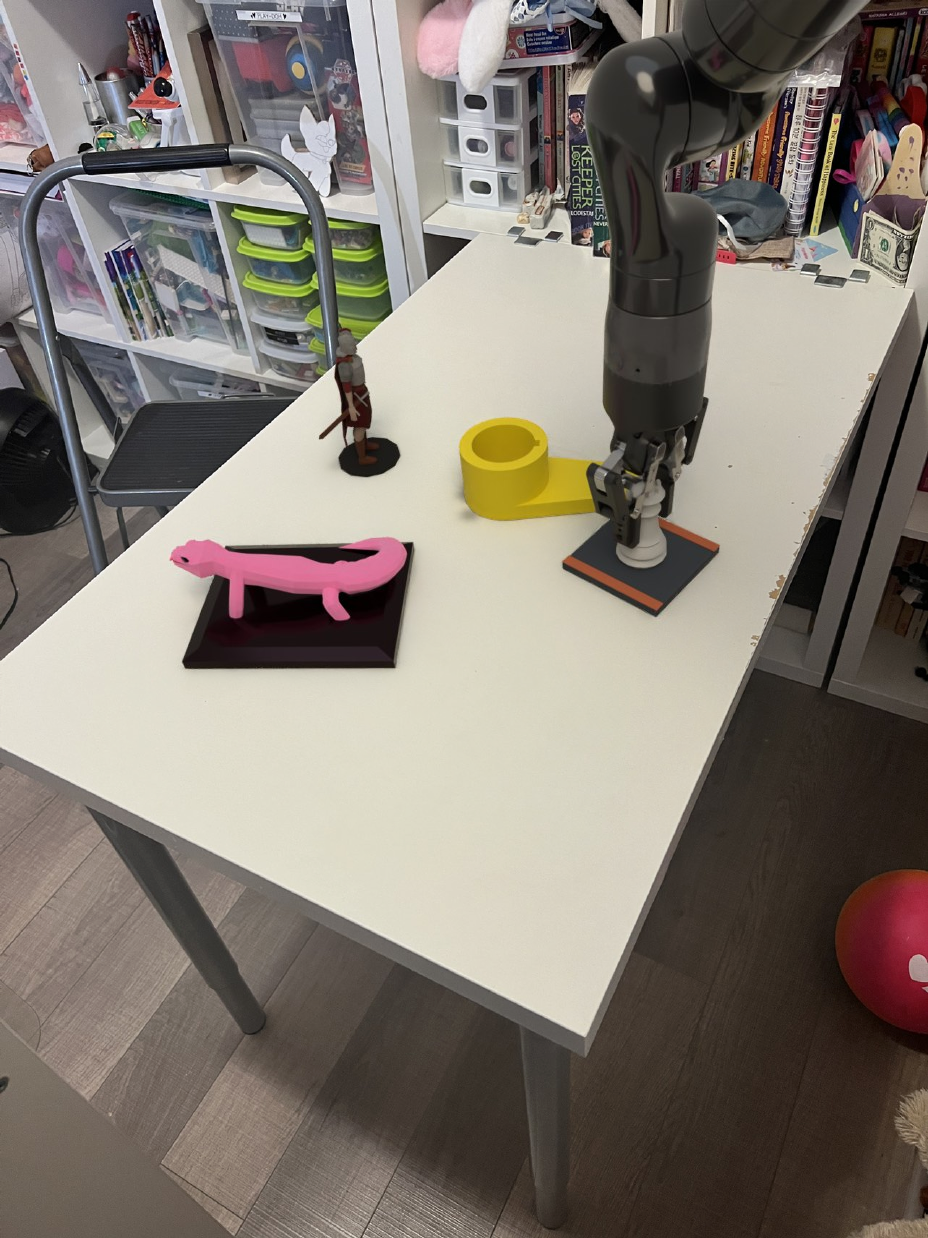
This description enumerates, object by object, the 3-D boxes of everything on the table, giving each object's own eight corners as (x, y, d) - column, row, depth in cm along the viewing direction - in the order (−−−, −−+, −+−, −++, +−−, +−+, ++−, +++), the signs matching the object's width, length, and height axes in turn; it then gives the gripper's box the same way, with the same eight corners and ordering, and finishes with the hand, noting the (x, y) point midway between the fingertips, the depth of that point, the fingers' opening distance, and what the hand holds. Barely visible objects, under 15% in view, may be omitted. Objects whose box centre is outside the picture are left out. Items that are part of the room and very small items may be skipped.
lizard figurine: (213, 552, 86) (189, 493, 81) (416, 548, 84) (405, 487, 78) (168, 668, 76) (138, 610, 71) (397, 668, 74) (383, 607, 68)
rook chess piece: (605, 557, 79) (607, 487, 73) (635, 530, 81) (639, 460, 75) (647, 579, 77) (652, 508, 71) (676, 551, 79) (684, 479, 73)
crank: (460, 520, 86) (453, 470, 81) (469, 466, 91) (464, 417, 87) (649, 521, 83) (653, 470, 79) (647, 466, 89) (650, 415, 84)
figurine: (398, 475, 91) (373, 344, 81) (329, 479, 92) (295, 350, 81) (402, 436, 96) (380, 307, 85) (336, 441, 97) (306, 313, 86)
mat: (719, 552, 79) (720, 544, 79) (655, 617, 75) (656, 610, 74) (626, 509, 85) (627, 502, 84) (562, 568, 80) (562, 561, 79)
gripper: (642, 414, 59) (631, 593, 72) (752, 322, 66) (724, 501, 78) (554, 380, 63) (557, 555, 75) (666, 296, 70) (653, 470, 82)
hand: (642, 526), depth 77 cm, fingers open, 4 cm apart
